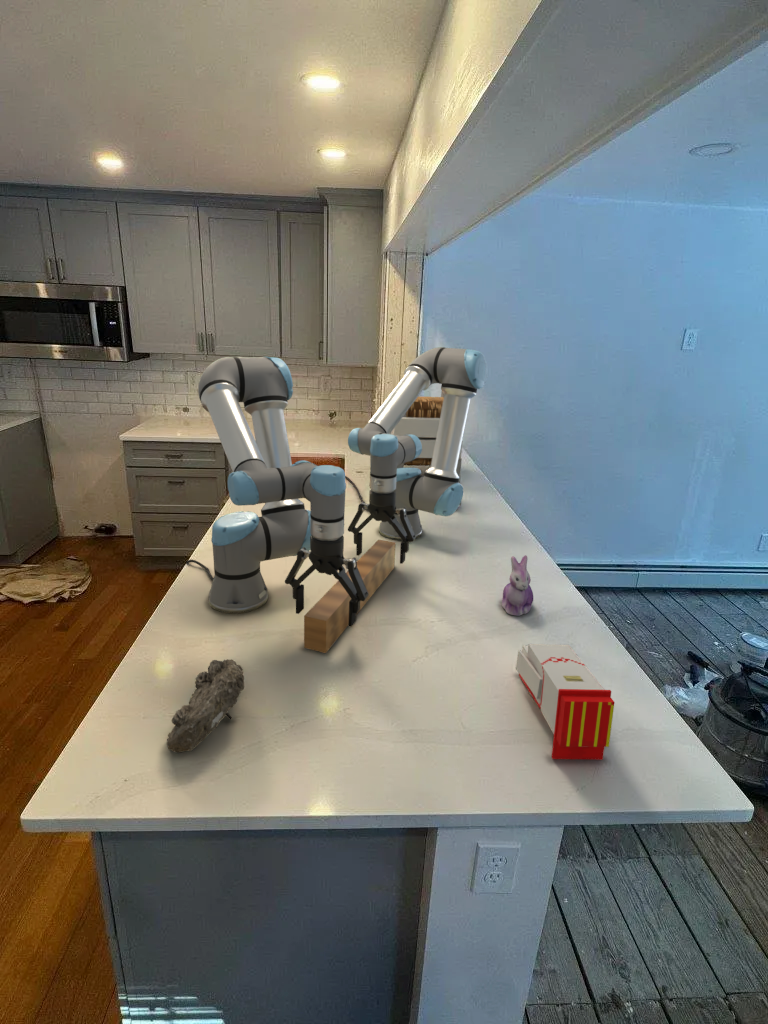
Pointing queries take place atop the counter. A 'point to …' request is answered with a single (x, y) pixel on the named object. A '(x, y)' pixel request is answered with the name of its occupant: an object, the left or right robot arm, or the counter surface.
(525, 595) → the figurine
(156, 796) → the counter surface
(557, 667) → the toy
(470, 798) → the counter surface
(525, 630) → the counter surface
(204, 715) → the fossil
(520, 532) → the counter surface
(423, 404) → the firewood crate
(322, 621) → the beam
